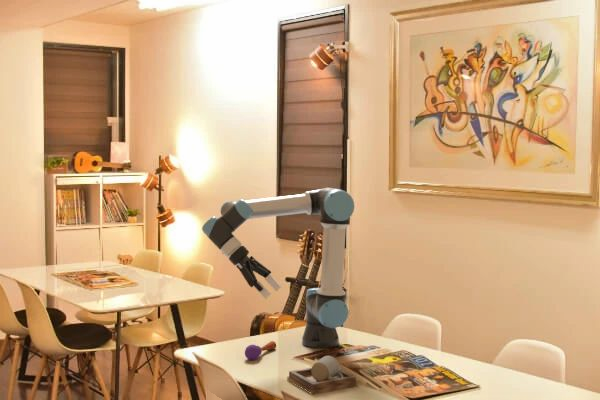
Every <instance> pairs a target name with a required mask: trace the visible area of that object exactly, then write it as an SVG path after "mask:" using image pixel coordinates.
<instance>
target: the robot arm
mask: <svg viewBox="0 0 600 400" xmlns="http://www.w3.org/2000/svg"><path fill="white" fill-rule="evenodd" d="M354 210H355V202H354V198H353V197H352V196H351V194H350V193H348V192H347V191H345V190H344V189H339V188H334V187H322V188H320V189H313V190H308V191H307V190H306V191H304V193H301V194H294V195H285V196H284V195H283V196H276V197H266V198H258V199H257V198H256V199H249V200H244V199H243V198H242V199H239V200H238V201H237V200H236V201H232V200H231V201H226V202H224V203H223V204H222V205H221V207H220V215H221V216H220V217H217V216H216V215H215V216H212V217H210V218H209V219H208V220H207V221H206V222H205V223H204V224H203V225H202V228H201V229H202V232H203V233H204V234H205V235H206V237H207V238H208V239H209V240H210V241H211V242H212V243H213V244H214V246H215V247H217V248H218V249H219V251H221V254H222V255H224V256H225V257H226V258H228V260H229V261H230V263H232V264H233V266H236V268H237V269H238V270H239V272H240V273H241V275H242V276H243V278H244V279H245V281H246V283H247V284H248V286H249V287H250V288H255V290H257V292H258V293H259V294H260V295H261V296H262V297H263V298H264V299H265V300H267V299H268V298H269V297H270V296H271V295H272V293H271V292H270V291H269V290H268V288H266V286H265V285H264V284H263V283H262V282H261V281H260V280H258V279H257V277H256V274H258V275H259V276H261V277H263V278H264V280H265V282H266V283H268V285H269V286H271V288H272V289H273V290H274V291H275V292H278V290H279V289H280V288H282V287H283V286H282V285H281V284H280V283H279V282H278V281H277V280H276V279H275V278H274V277H273V275H271V274H272V271H271V270H270V269H269V268H267V267H266V266H264V265H263V264H262V263H260V262H259V261H258V260H257V259H256V258H254V256H252V255H251V256H250V257H249V256H248V255H249V254H250V251H249V250H248V249H247V247H245V246H244V245H242V242H241V241H240V240H239V239H238V238H237V237H236V236H235V235H234V234H233V233H234V232H235V231H236V230H237V229H238V228H239V227H240V226H242V225H243V224H244V223H245V222H246V221H247V220H255V219H262V218H263V219H265V218H272V217H280V216H289V215H298V214H299V215H300V214H306V215H308V216H311V215H319V216H320V222H319V223H320V225H322V227H323V235H322V237H323V238H322V252H321V253H322V255H321V271H320V272H321V275H320V287H313V288H308V289H307V290H306V295H305V304H306V305H305V307H306V308H305V309H306V310H305V313H306V316H305V319H306V320H305V321H306V322H305V323H306V325H305V328H304V330H303V334H302V336H301V344H302V345H303V346H306V347H309V348H316V349H318V348H321V349H323V348H332V347H336V346H338V345H339V343H340V338H339V334H338V332H337V329H338V328H339V327H342V325H344V324H345V323H346V322H347V319H348V317H349V309H348V308H349V307H348V306H347V304H346V300H347V292H346V291H345V290H344V289H343V282H344V266H345V264H344V263H345V247H346V246H345V245H346V244H345V243H346V229H347V228H348V227H349V226H350V224H351V223H350V222H351V216H352V215H353V213H354ZM255 273H256V274H255Z"/></svg>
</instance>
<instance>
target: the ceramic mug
mask: <svg viewBox="0 0 600 400" xmlns="http://www.w3.org/2000/svg"><path fill="white" fill-rule="evenodd" d="M311 368H312V369H311V373H312V376H313V378H314V379H315V380H317V381H319V382H320V381H326V380H332V379H335V378H333V377H335V376H336V375H338V376H339V377H340V378H343V375H342V374H341V373H340V372H339V369H340V364H339V362H338V360H337V359H336V357H333V356H331V355H325V356H323V357H322V358H320V359H318V360H317V361H315V362H314V363H313V364H312V366H311Z"/></svg>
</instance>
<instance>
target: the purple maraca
mask: <svg viewBox="0 0 600 400" xmlns="http://www.w3.org/2000/svg"><path fill="white" fill-rule="evenodd" d="M276 348H277V343H276V341H273V340H271V341H269V342H268V343H266V344H264V345H263V346H262V347H260V346H259V345H256V344H250V345H247V346H246V347H245V350H244V355H245V357H246V359H248V360H249V361H256V360H259V358H260V356H261V355H262V352H265V351H271V350H275V349H276Z"/></svg>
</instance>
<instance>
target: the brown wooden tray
mask: <svg viewBox="0 0 600 400" xmlns="http://www.w3.org/2000/svg"><path fill="white" fill-rule="evenodd" d="M311 369H312V367H306V368H301V369H300V368H299V369H295V370H289V372H288V375H289V376H286V377H287V378H286V380H287V381H288V380H289V381H288V382H290V383H292V384H293V383H294V385H295V384H296V386H297V385H298V386H297V387H299V386H300V387H302V388H303V389H302V388H301V389H302V390H304V389H306V390H307V391H309V392H311V393H312V394H311V393H310V394H311V395H315V394H314V393H317V394H321V393H322V392H323V393H329V392H334V391H338V390H344V389H348V388H354V387H359V382H357V377H356V376H355V375H353V374H351V373H349V372H346V371H345V370H344V369H341V368H339V372H340V373H341V374H342V375H343V378H340V377H339V376H338V375H336V376H335V377H333V378H335V379H332V380H326V381H320V382H319V381H317V380H315V379H314V378H313V376H312V373H311ZM300 387H299V388H300ZM306 390H305V391H306ZM307 391H306V392H307ZM309 392H308V393H309Z"/></svg>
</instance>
